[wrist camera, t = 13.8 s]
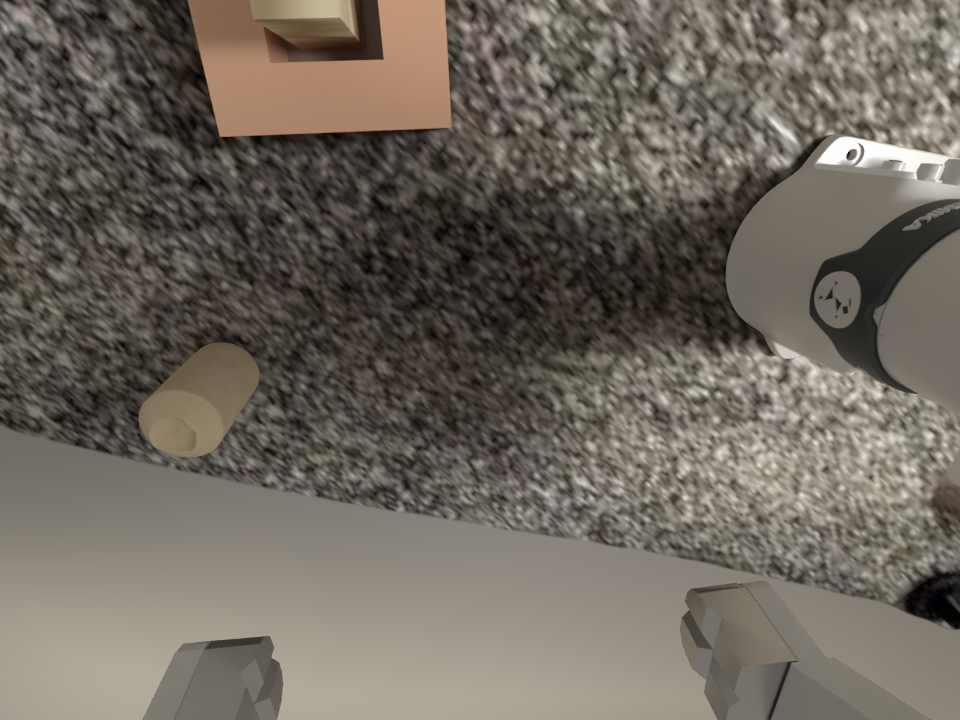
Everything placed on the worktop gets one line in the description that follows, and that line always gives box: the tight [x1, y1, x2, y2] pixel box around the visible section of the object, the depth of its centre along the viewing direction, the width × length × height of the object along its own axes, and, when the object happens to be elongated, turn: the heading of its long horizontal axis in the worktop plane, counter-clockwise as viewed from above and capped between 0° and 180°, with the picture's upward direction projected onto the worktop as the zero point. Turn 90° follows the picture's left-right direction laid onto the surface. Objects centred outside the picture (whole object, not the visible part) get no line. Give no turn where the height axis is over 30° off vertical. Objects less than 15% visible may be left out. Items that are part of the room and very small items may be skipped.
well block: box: [188, 0, 452, 137], centre depth 30 cm, size 14×14×6 cm
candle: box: [139, 342, 260, 457], centre depth 38 cm, size 6×6×10 cm
